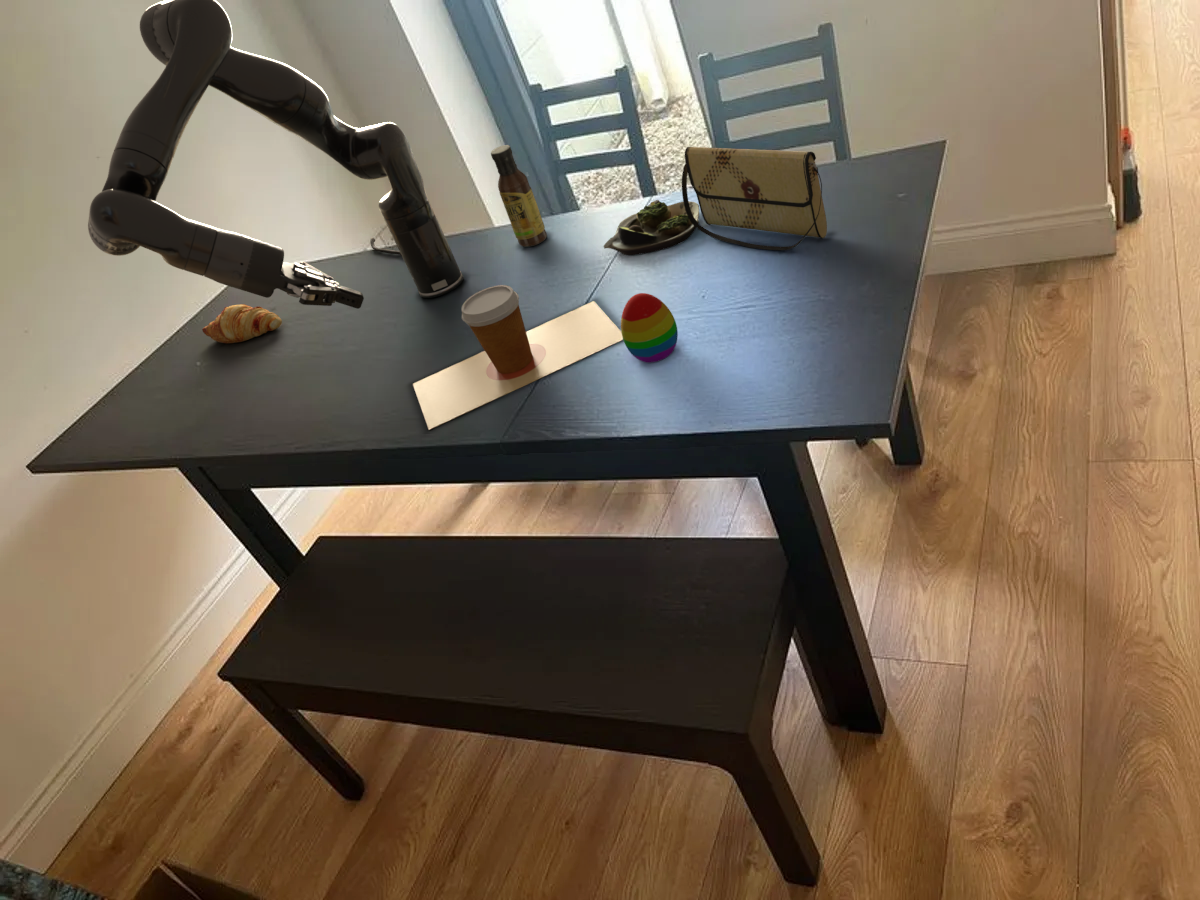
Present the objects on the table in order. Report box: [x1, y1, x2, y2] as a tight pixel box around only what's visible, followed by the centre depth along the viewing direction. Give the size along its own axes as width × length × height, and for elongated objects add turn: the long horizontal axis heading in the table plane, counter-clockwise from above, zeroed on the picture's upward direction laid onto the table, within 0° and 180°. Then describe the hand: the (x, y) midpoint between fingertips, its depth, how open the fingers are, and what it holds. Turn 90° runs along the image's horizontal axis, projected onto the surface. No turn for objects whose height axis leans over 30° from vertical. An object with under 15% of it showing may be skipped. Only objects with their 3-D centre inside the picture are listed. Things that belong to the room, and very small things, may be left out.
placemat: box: [412, 300, 624, 431], centre depth 154 cm, size 17×34×1 cm, turn 109°
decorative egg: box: [620, 292, 679, 364], centre depth 139 cm, size 8×8×10 cm
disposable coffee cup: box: [461, 284, 533, 374], centre depth 150 cm, size 10×10×12 cm
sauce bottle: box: [490, 144, 548, 248], centre depth 187 cm, size 6×6×20 cm
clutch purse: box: [681, 146, 828, 251], centre depth 158 cm, size 30×7×15 cm, turn 43°
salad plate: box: [603, 199, 700, 256], centre depth 177 cm, size 19×18×5 cm
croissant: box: [201, 303, 283, 344], centre depth 201 cm, size 21×10×8 cm, turn 74°
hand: (361, 301), depth 142 cm, fingers closed
